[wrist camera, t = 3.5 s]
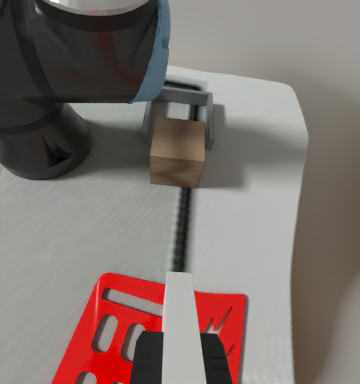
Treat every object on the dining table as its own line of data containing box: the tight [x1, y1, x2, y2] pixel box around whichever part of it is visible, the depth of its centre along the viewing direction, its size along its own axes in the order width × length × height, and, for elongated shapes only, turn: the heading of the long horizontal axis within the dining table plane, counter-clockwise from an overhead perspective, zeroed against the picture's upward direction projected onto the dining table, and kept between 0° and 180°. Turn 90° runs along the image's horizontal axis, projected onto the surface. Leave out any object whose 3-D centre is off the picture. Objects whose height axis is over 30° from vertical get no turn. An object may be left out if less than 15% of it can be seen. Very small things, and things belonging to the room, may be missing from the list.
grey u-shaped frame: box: [141, 86, 214, 150], centre depth 43 cm, size 14×14×3 cm
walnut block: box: [150, 116, 205, 188], centre depth 35 cm, size 8×8×8 cm
